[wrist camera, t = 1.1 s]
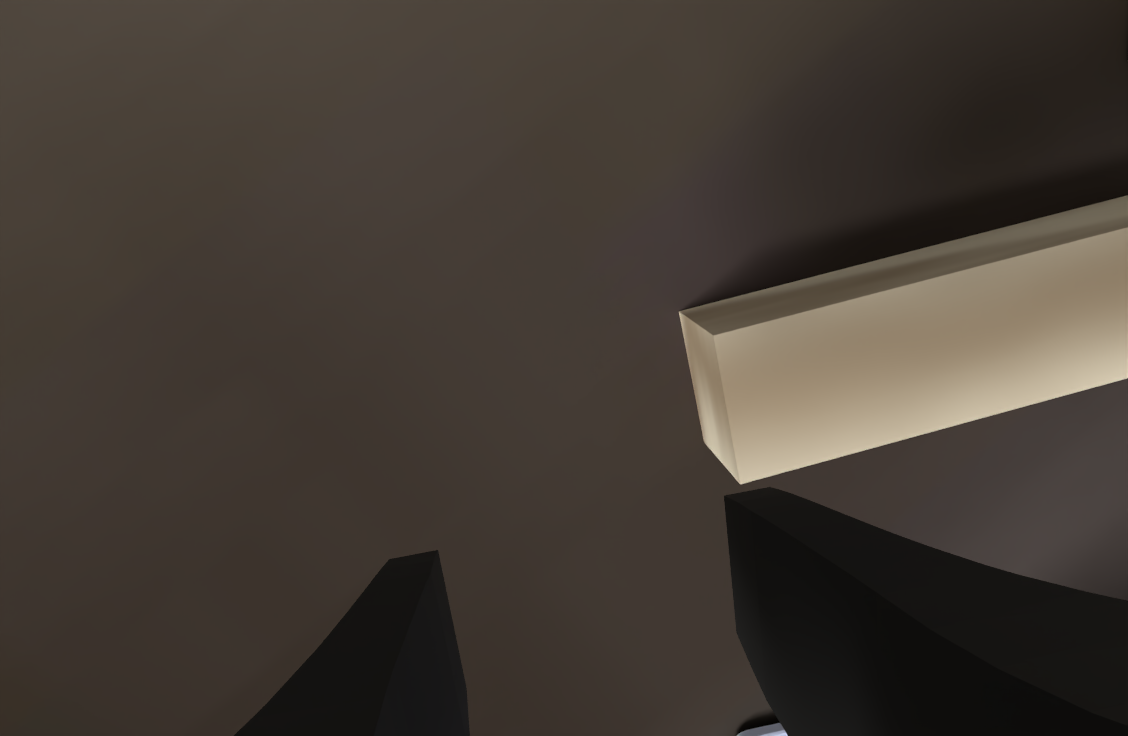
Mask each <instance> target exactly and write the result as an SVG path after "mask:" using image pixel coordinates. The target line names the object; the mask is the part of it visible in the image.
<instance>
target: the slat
mask: <svg viewBox="0 0 1128 736" xmlns="http://www.w3.org/2000/svg"><path fill="white" fill-rule="evenodd" d="M679 315H680V320H681V325H682V330H683V335H684V340H685V346H686V351H687V356H688V361H689V366H690V371H691V377H692V382H693V387H694V392H695V397H696V402H697V408H698V413H699V418H700V423H701V428H702V433H703V439H704V443H705V444H706V445H707V446H708V447H709V448H710V450H711V451H712V452H713V453H714V454H715V455H716V457H717V458H718V459H719V460H720V461H721V462H722V464H723V465H724V466H725V467H726V468H727V469H728V471H729V472H730V473H731V474H732V475H733V476H734V478H735V479H736V480H737V481H738V482H739V483H740V484H743V483H747V482H751V481H754V480H758V479H761V478H765V477H769V476H772V475H776V474H780V473H783V472H787V471H791V470H794V469H798V468H802V467H805V466H809V465H813V464H816V463H820V462H824V461H827V460H831V459H834V458H838V457H842V456H845V455H849V454H853V453H856V452H860V451H864V450H867V449H871V448H875V447H878V446H882V445H886V444H889V443H893V442H896V441H900V440H904V439H907V438H911V437H915V436H918V435H922V434H926V433H929V432H933V431H937V430H940V429H944V428H948V427H951V426H955V425H959V424H962V423H966V422H969V421H973V420H977V419H980V418H984V417H988V416H991V415H995V414H999V413H1002V412H1006V411H1010V410H1013V409H1017V408H1021V407H1024V406H1028V405H1031V404H1035V403H1039V402H1042V401H1046V400H1050V399H1053V398H1057V397H1061V396H1064V395H1068V394H1072V393H1075V392H1079V391H1083V390H1086V389H1090V388H1094V387H1097V386H1101V385H1104V384H1108V383H1112V382H1115V381H1119V380H1123V379H1126V378H1128V195H1127V196H1123V197H1119V198H1115V199H1111V200H1107V201H1103V202H1100V203H1096V204H1092V205H1088V206H1084V207H1080V208H1076V209H1073V210H1069V211H1065V212H1061V213H1057V214H1053V215H1049V216H1046V217H1042V218H1038V219H1034V220H1030V221H1026V222H1022V223H1018V224H1015V225H1011V226H1007V227H1003V228H999V229H995V230H991V231H988V232H984V233H980V234H976V235H972V236H968V237H964V238H961V239H957V240H953V241H949V242H945V243H941V244H937V245H933V246H930V247H926V248H922V249H918V250H914V251H910V252H906V253H903V254H899V255H895V256H891V257H887V258H883V259H879V260H875V261H872V262H868V263H864V264H860V265H856V266H852V267H848V268H845V269H841V270H837V271H833V272H829V273H825V274H821V275H818V276H814V277H810V278H806V279H802V280H798V281H794V282H790V283H787V284H783V285H779V286H775V287H771V288H767V289H763V290H760V291H756V292H752V293H748V294H744V295H740V296H736V297H733V298H729V299H725V300H721V301H717V302H713V303H709V304H705V305H702V306H698V307H694V308H690V309H686V310H682V311H679Z"/></svg>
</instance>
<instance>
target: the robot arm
mask: <svg viewBox="0 0 1128 736" xmlns="http://www.w3.org/2000/svg"><path fill="white" fill-rule="evenodd" d="M724 501H725V512H726V523H727V534H728V544H729V555H730V566H731V577H732V588H733V598H734V609H735V620H736V631H737V635H738V637H739V639H740V642H741V644H742V646H743V648H744V651H745V653H746V655H747V658H748V660H749V662H750V665H751V667H752V669H753V672H754V674H755V676H756V678H757V680H758V682H759V685H760V687H761V689H762V691H763V693H764V695H765V698H766V700H767V701H768V703H769V705H770V707H771V708H772V710H773V712H774V713H775V715H776V717H777V718H778V720H779V722H780V723H776V724H772V725H767V726H763V727H758V728H753V729H749V730H745V731H743V732H740V733H739V734H738V735H737V736H1128V601H1126V600H1121V599H1117V598H1112V597H1107V596H1103V595H1098V594H1093V593H1089V592H1085V591H1081V590H1077V589H1073V588H1069V587H1065V586H1061V585H1057V584H1053V583H1049V582H1045V581H1041V580H1037V579H1033V578H1029V577H1025V576H1022V575H1018V574H1014V573H1011V572H1007V571H1004V570H1000V569H997V568H994V567H990V566H987V565H984V564H981V563H977V562H974V561H971V560H968V559H965V558H962V557H959V556H956V555H953V554H950V553H947V552H944V551H941V550H938V549H935V548H932V547H929V546H926V545H924V544H921V543H918V542H915V541H912V540H910V539H907V538H904V537H902V536H899V535H896V534H894V533H891V532H888V531H886V530H883V529H880V528H878V527H875V526H873V525H870V524H868V523H865V522H862V521H860V520H857V519H855V518H852V517H850V516H847V515H845V514H842V513H840V512H837V511H835V510H832V509H830V508H827V507H825V506H822V505H820V504H817V503H815V502H812V501H810V500H807V499H804V498H802V497H799V496H797V495H794V494H791V493H788V492H785V491H782V490H779V489H775V488H771V487H768V488H762V489H757V490H752V491H747V492H741V493H736V494H731V495H726V496H724ZM234 736H470V733H469V718H468V704H467V689H466V684H465V679H464V674H463V669H462V664H461V660H460V655H459V650H458V645H457V640H456V635H455V631H454V626H453V621H452V616H451V611H450V606H449V602H448V597H447V592H446V587H445V582H444V577H443V573H442V568H441V563H440V558H439V553H438V550H436V551H431V552H425V553H420V554H415V555H410V556H404V557H399V558H394V559H389V560H388V562H387V563H386V564H385V565H384V566H383V567H382V569H381V570H380V571H379V572H378V574H377V575H376V576H375V578H374V579H373V580H372V581H371V583H370V584H369V585H368V587H367V588H366V589H365V590H364V592H363V593H362V594H361V595H360V597H359V598H358V599H357V601H356V602H355V603H354V604H353V606H352V607H351V608H350V609H349V611H348V612H347V613H346V614H345V616H344V617H343V618H342V619H341V620H340V622H339V623H338V624H337V625H336V627H335V628H334V629H333V630H332V631H331V633H330V634H329V635H328V636H327V638H326V639H325V640H324V641H323V642H322V644H321V645H320V646H319V647H318V648H317V649H316V651H315V652H314V653H313V654H312V655H311V656H310V657H309V658H308V659H307V660H306V661H305V663H304V664H303V665H302V666H301V667H300V668H299V669H298V670H297V671H296V672H295V673H294V674H293V676H292V677H291V678H290V679H289V680H288V681H287V682H286V683H285V684H284V685H283V686H282V688H281V689H280V690H279V691H278V692H277V693H276V694H275V695H274V696H273V697H272V698H271V700H270V701H269V702H268V703H267V704H266V705H265V706H264V707H263V708H262V709H261V710H260V711H259V712H258V713H257V714H256V715H255V716H254V717H253V718H252V719H251V720H250V721H249V722H248V723H247V724H246V725H245V726H243V727H242V728H241V729H240V730H239V731H238V732H237V733H236V734H235V735H234Z"/></svg>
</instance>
